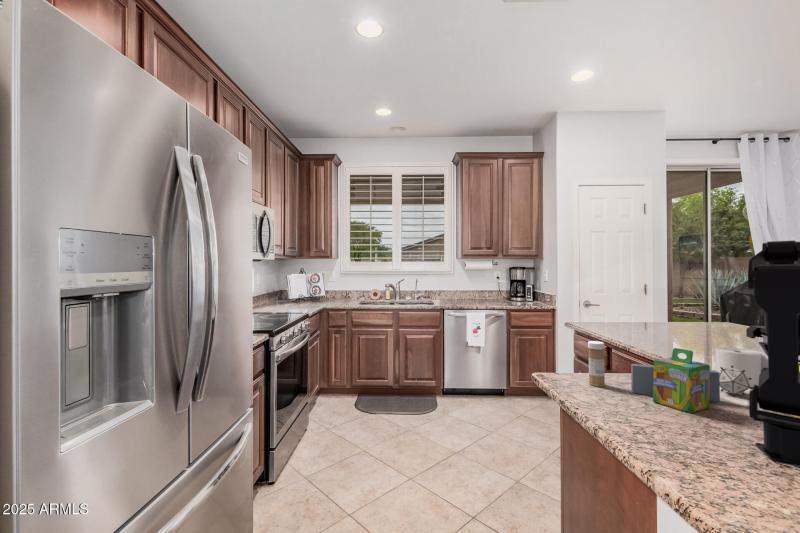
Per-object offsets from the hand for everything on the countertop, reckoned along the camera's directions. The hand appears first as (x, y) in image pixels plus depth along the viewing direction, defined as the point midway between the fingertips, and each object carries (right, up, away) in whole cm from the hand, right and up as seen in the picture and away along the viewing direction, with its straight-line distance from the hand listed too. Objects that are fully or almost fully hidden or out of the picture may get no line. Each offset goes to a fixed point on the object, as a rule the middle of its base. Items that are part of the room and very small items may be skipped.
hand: (783, 377), depth 81 cm
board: (-8, -12, +23) cm, 27 cm away
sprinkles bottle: (-24, -13, +33) cm, 43 cm away
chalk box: (-11, -13, +16) cm, 23 cm away
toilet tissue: (+23, -12, +35) cm, 43 cm away
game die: (+10, -12, +24) cm, 29 cm away
